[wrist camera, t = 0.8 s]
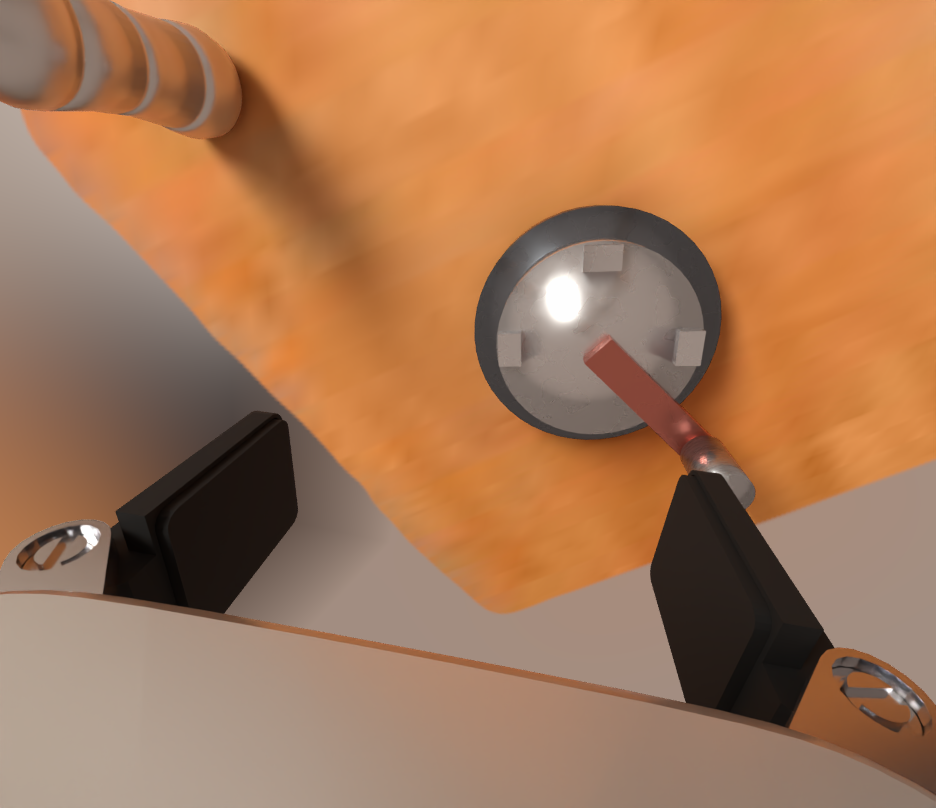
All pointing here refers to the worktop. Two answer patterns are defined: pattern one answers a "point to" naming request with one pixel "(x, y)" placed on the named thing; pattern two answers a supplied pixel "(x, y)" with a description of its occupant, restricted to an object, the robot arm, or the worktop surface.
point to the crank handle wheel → (611, 348)
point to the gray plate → (574, 228)
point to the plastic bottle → (116, 65)
